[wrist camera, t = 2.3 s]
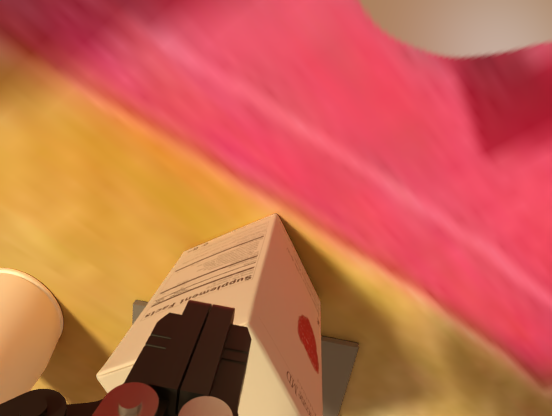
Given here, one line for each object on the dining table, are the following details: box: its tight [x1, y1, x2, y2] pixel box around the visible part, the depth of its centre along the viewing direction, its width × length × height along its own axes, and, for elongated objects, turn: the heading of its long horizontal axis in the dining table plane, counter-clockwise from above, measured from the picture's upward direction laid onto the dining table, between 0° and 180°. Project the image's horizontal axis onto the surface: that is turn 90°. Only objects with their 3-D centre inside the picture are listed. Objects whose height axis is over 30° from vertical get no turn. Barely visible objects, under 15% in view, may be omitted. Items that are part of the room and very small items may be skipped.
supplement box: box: [96, 214, 323, 416], centre depth 28 cm, size 9×9×15 cm
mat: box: [132, 300, 359, 416], centre depth 40 cm, size 20×14×1 cm
